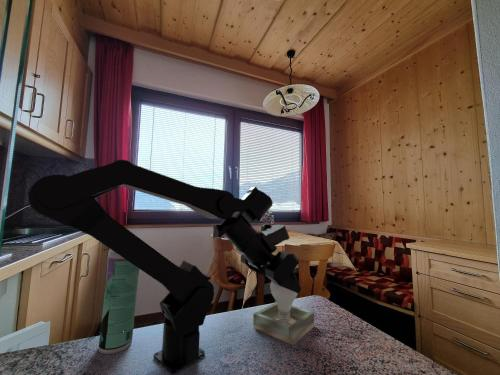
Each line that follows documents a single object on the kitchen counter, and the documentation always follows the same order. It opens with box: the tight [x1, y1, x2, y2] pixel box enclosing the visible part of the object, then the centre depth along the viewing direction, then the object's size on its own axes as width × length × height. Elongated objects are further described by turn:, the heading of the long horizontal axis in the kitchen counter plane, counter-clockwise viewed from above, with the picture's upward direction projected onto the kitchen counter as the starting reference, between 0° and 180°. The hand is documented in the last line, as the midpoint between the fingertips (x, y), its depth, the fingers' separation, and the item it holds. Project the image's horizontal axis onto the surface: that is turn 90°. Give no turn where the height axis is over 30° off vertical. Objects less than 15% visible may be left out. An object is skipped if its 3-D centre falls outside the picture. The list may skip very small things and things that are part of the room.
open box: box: [252, 301, 315, 346], centre depth 50 cm, size 10×10×3 cm
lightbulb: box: [269, 280, 299, 324], centre depth 50 cm, size 6×6×11 cm
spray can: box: [98, 249, 140, 355], centre depth 43 cm, size 6×6×20 cm
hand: (288, 285), depth 51 cm, fingers open, 9 cm apart
